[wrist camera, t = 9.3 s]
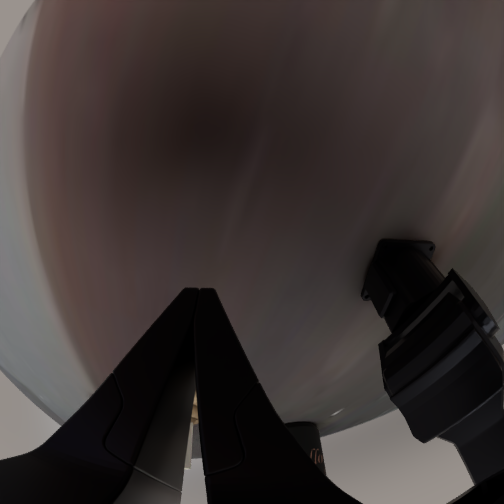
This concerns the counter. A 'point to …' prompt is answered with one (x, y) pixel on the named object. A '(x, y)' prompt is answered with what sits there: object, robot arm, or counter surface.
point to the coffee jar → (308, 441)
